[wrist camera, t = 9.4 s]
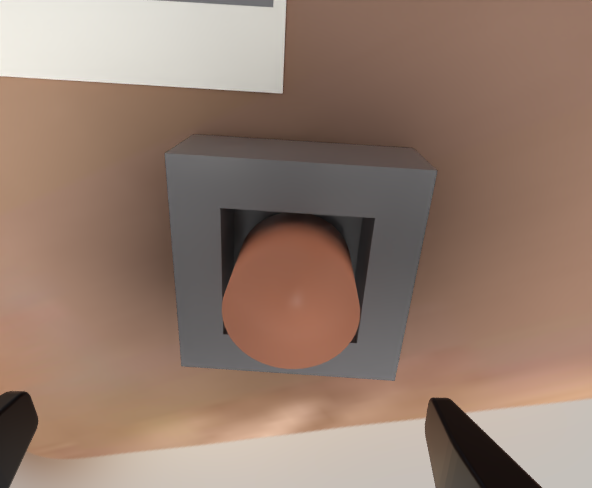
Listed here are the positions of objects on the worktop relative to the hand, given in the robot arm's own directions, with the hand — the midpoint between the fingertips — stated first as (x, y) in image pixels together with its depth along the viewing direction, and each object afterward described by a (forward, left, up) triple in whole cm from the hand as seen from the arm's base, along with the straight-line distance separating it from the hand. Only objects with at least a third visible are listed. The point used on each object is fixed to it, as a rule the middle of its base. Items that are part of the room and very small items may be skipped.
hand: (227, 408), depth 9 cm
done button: (-1, +1, -10) cm, 10 cm away
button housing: (-1, +1, -12) cm, 12 cm away
